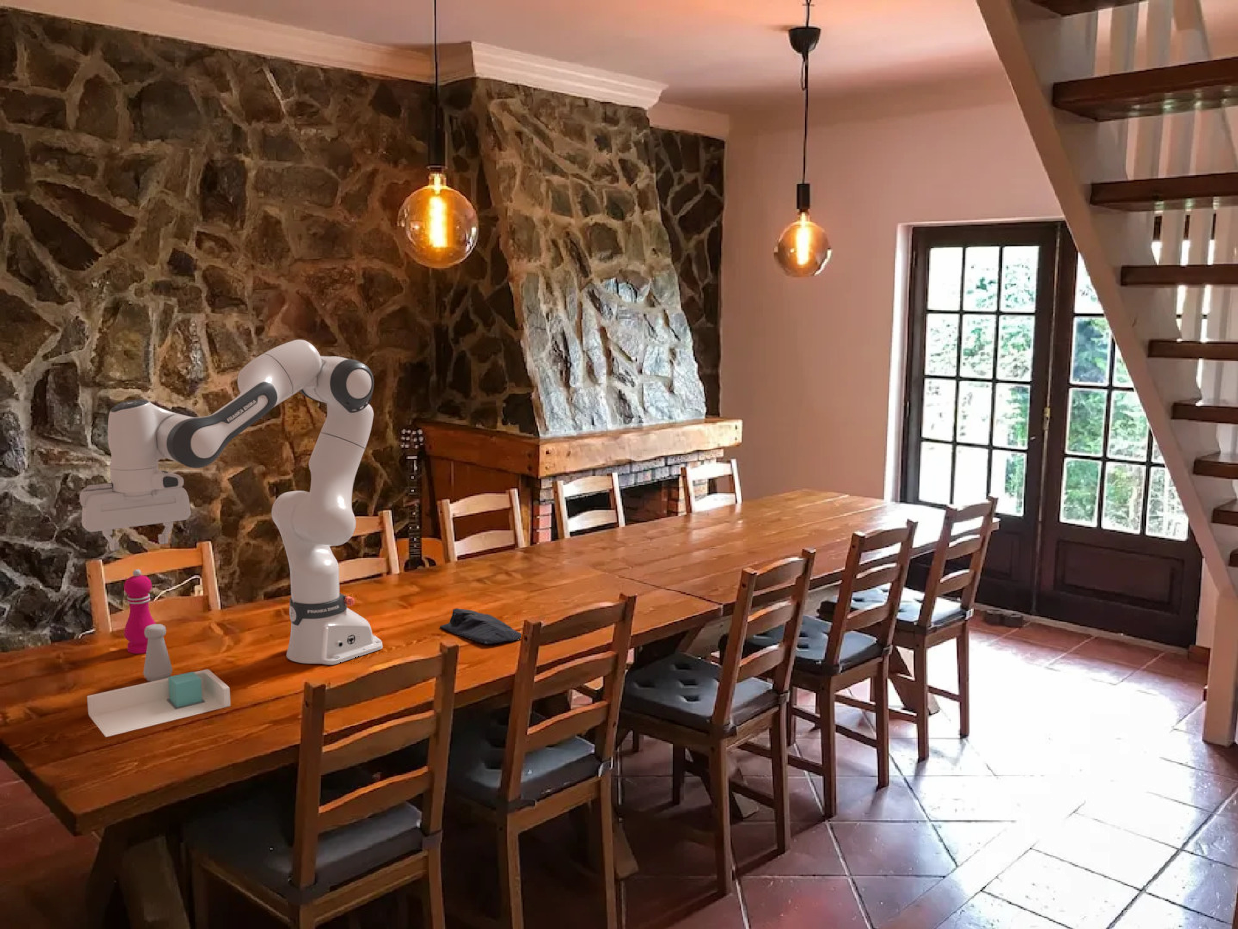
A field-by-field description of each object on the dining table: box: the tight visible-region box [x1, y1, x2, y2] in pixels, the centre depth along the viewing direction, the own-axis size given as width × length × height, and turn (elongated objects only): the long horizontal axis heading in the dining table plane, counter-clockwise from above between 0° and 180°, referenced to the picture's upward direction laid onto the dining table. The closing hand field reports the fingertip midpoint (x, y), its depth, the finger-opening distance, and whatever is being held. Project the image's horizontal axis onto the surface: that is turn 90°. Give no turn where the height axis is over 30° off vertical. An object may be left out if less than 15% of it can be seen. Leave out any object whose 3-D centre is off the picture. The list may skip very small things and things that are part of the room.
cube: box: [168, 671, 202, 707], centre depth 214 cm, size 5×5×5 cm
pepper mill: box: [123, 568, 157, 655], centre depth 245 cm, size 7×7×20 cm
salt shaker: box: [142, 623, 173, 682], centre depth 226 cm, size 6×6×13 cm
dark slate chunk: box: [439, 607, 522, 645], centre depth 263 cm, size 15×22×5 cm
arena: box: [86, 669, 231, 738], centre depth 210 cm, size 24×13×5 cm, turn 130°
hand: (139, 546), depth 210 cm, fingers open, 8 cm apart
